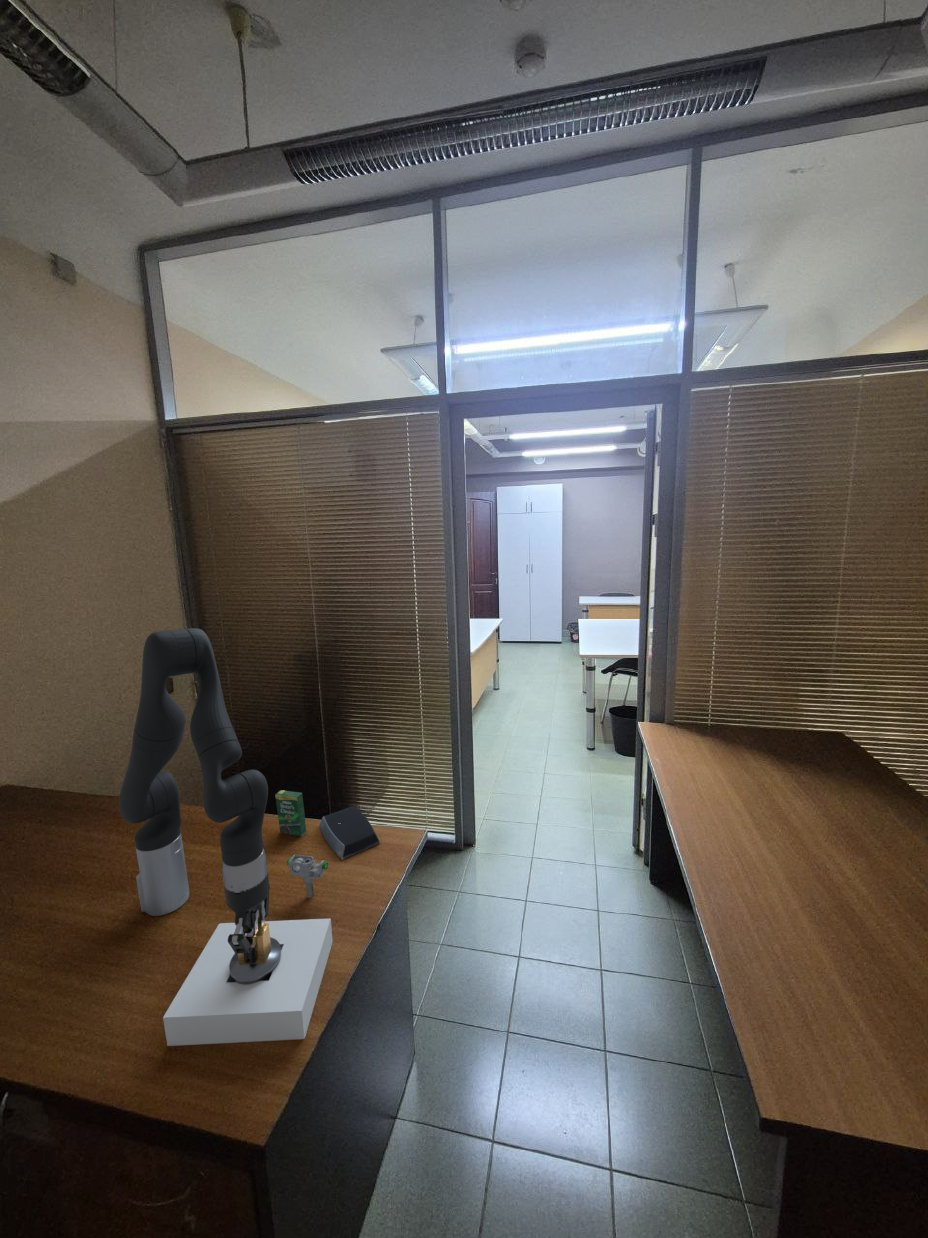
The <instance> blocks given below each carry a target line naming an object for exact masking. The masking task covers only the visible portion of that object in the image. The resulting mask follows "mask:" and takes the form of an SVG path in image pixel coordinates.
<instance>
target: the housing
mask: <svg viewBox="0 0 928 1238" xmlns="http://www.w3.org/2000/svg"><path fill="white" fill-rule="evenodd" d="M265 923H269V932H270V937H271V938H274V939H276V940H277V941H278V942H279V944H280V947H281V959H280V962H279V964H278V965H277V967H276V968H275V970H274V971H273V972H272V974H271V977H270V979H269V981H258V982H255V983H252V984H239V983H236V982H235V981H233V979H232V978H231V976H230V969H229V965H230V961H231V959H232V957H233V955H234V954H235V952H234V951H233V949H232V948H231V946H230V944H229V943H228V936H229V935H230V934H234V932H235V929H236V925H235V922H225V923H224V922H223V923H222V922H221V923H220V922H219V924H218V925H217V927H216V929H215V930H214V931H213V933H212V935H211V937H210V938H209V939H208V942H207V943H206V945H205V947H204V948H203V950H202V952H201V953H200V955H199V956H198V958H197V960H196V961H195V963H194V965H193V966H192V968H191V971H189V973H188V975H187V977H186V978H185V979H184V981H183V983H182V985H181V986H180V988H179V990H178V991H177V994H175V997H174V998H173V1000H172V1001H171V1003H170V1005H169V1007H168V1008H167V1010H166V1012H165V1013H164V1015H163V1017H162V1020H163V1026H164V1032H165V1033H164V1034H165V1038H166V1045H167V1047H176V1046H177V1047H178V1046H194V1045H197V1046H198V1045H213V1044H215V1045H216V1044H235V1043H237V1044H238V1043H253V1042H270V1041H276V1042H277V1041H291V1040H292V1041H293V1040H305V1038H306V1036H307V1032H308V1028H309V1026H310V1021H311V1018H312V1014H313V1011H314V1007H315V1004H316V1001H317V999H318V998H317V997H318V994H319V990H320V987H321V984H322V981H323V977H324V974H325V970H326V966H327V963H328V960H329V956H330V952H331V948H332V945H333V931H332V928H333V927H332V919H331V918H313V919H289V920H268V921H266V920H265Z"/></svg>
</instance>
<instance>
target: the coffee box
mask: <svg viewBox="0 0 928 1238" xmlns="http://www.w3.org/2000/svg"><path fill="white" fill-rule="evenodd" d="M274 796H275V803H276V810H277V818H278V820H277V821H278V827H279V833H280V834H283V835H284V834H285V835H290V836H296V837H303V836H304V835H306V833H307V827H306V826H307V824H306V817H305V815H306V814H305V807H304V798H303V793H302V792H298V791H290V790H284V789H283V790H282V789H281V790H278V791H277V793H275V795H274Z"/></svg>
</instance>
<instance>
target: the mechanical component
mask: <svg viewBox="0 0 928 1238" xmlns="http://www.w3.org/2000/svg"><path fill="white" fill-rule="evenodd" d="M286 865H288V868H289V873H290V874H291V875H292V876H293V877H301V878H303V879H302V880H303V882H304V883H305V888H306V897H307V898H308V899H312V898H313V895H314V894H315V893H314V884H313V883H314V880H315V879H316V880H319V879H321V878H322V876H323V875H324V874H325V872H326V871H327V869H328V867H329V862H327V861H326V860H324V859H323V860H321V861H320V863H317V862H316V860H315V859H314V857H313V856H312V855H302V854H293V855H292V857H288V858H287V860H286Z"/></svg>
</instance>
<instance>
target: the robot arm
mask: <svg viewBox="0 0 928 1238" xmlns="http://www.w3.org/2000/svg"><path fill="white" fill-rule="evenodd" d="M211 643H212V642H211V640H210V638H209V636H208V635H207V633H206V632H205V631H204V630H203V629H200V628H197V627H196V628H195V627H194V628H193V627H190V628H179V629H168V630H158V631H155V632H152V633H150V634H149V635H148V636H147V637H146V639H145V641H144V646H143V652H142V668H141V683H140V684H141V685H140V686H141V688H140V689H141V690H140V697H139V702H138V703H139V704H138V709H137V712H136V713H137V714H136V718H135V723H134V727H133V734H132V744H131V750H130V756H129V761H128V765H127V770H126V772H125V776H124V779H123V782H122V784H121V788H120V792H119V798H118V805H119V810H120V814H121V816H122V818H123V819H124V821H126V822H127V823H129V824H139V823H142V822H145V821H146V822H145V823H144V824H142V826H141V827H139V829H138V830H137V831H136V833H135V834H134V838H133V839H134V846H135V851H136V858H137V864H138V869H139V870H138V871H139V873H138V874H137V875H136V876H135V877H136V878H135V881H136V886H137V891H138V897H139V903H140V908H141V909H140V910H141V912H142V913H146V914H147V915H149V916H151V917H159V916H164V915H167V914H170V913H172V912H174V911H176V910H178V909H179V908H181V907H182V906H183V905H185V903H186V902H187V901H188V900H189V898H190V887H189V880H188V873H187V872H188V871H187V866H186V865H187V864H186V858H185V852H184V844H183V838H182V837H183V836H182V831H181V826H182V814H181V802H180V801H181V800H180V790H179V785H178V782H177V780H176V777H175V776H174V775H173V774H172V773H171V772H169V771H167V770H163V768H165V766H167V764H168V762H169V761H170V760H172V758H173V757H174V756H175V755H176V753H177V752H178V751H179V748H180V746H181V745H182V742H183V737H184V733H185V728H186V722H187V719H186V718H187V717H186V714H185V713H184V710H183V709H182V707H181V706H180V704H179V703H177V702H176V700H175V699H174V698H173V697H172V696H171V695H170V694H169V691H168V690H167V688H166V683H167V681H168V679H169V678H170V677H175V676H182V675H188V674H193V673H194V674H195V675H196V678H197V680H198V683H199V690H198V695H197V699H196V703H195V706H194V710H193V712H192V715H191V718H190V723H189V724H190V725H189V726H190V728H189V731H190V732H189V733H190V737H191V741H192V743H193V747H194V748H195V752H196V754H197V755H196V756H197V757H198V760H199V764H200V766H201V767H200V768H201V773H202V780H203V781H202V782H203V808H204V812H205V814H206V816H207V817H208V819H210V820H211V821H213V822H214V823H217V824H222V823H224V822H225V823H226V822H229V820H232V819H233V820H232V821H231V822H229V823H228V824H227V825H226V826H225V827H224V828H223V829H222V830H221V833H220V834H219V835H220V837H219V840H220V841H219V842H220V843H219V845H220V849H221V850H220V851H221V857H222V858H221V859H222V880H223V887H224V894H225V902H226V906H227V907H228V909H230V911H232V912H233V913H234V915H235V916H234V923H235V925H236V929H235V932H234V934H230V935H229V936H228V943H229V944H230V946H231V948H232V949H233V951H234V952H235V954H239V953H243V954H244V962H245V963H246V964H251V963H256V961H257V950H256V939H255V935H256V933H257V931H258V924H264V923H265V921H266V920H265V918H268V916H269V905H270V903H269V902H270V889H271V888H270V887H271V886H270V882H269V881H270V879H269V871H268V862H267V855H266V852H265V849H264V848H265V847H264V837H263V825H264V819H265V811H266V809H267V808H266V807H267V804H268V796H269V786H268V781H267V778H266V776H265V775H264V774H263V773H262V772H260V771H259V770H257V769H248V770H245V771H242V772H238V773H237V774H235V775H232V776H229V777H227V778H223V779H222V772H223V771H224V770H226V769H227V768H229V767H231V766H232V765H234V764H235V763H237V762H238V761H239V760H240V759H241V757H242V756H243V751H242V747H241V744H240V742H239V739H238V737H237V734H236V732H235V729H234V726H233V724H232V722H231V719H230V716H229V713H228V711H227V707H226V702H225V697H224V694H223V690H222V685H221V684H222V683H221V680H220V679H221V678H220V674H219V670H218V666H217V665H218V664H217V661H216V657H215V653H214V649H213V646H212V644H211ZM251 928H252V929H251ZM246 937H250V940H247V938H246Z"/></svg>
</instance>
